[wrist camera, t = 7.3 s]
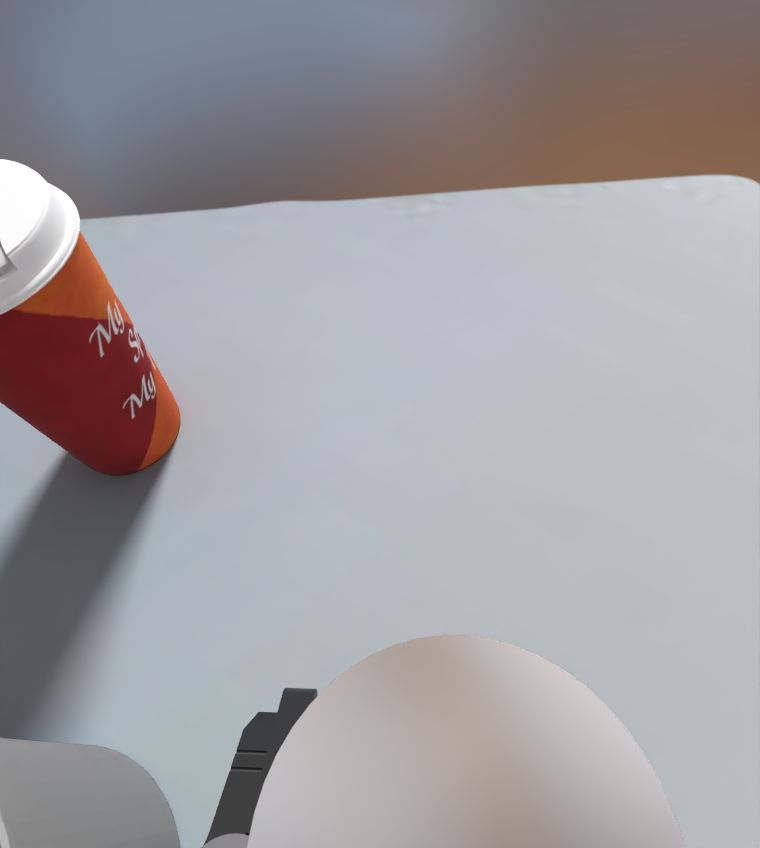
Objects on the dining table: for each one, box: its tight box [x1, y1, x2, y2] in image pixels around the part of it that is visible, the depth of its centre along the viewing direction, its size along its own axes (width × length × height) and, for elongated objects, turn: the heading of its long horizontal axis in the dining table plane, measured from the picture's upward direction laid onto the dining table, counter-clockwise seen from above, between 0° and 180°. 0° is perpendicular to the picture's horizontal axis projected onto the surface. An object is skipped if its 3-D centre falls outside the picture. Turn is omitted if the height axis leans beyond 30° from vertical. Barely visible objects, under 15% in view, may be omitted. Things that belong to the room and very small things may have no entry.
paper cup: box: [0, 159, 180, 475], centre depth 26 cm, size 8×8×14 cm
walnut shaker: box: [247, 635, 686, 848], centre depth 12 cm, size 5×5×11 cm
